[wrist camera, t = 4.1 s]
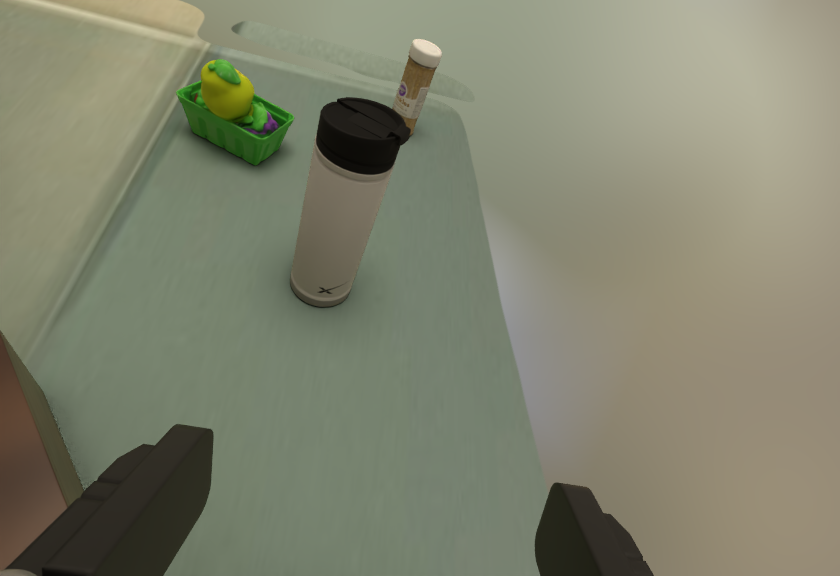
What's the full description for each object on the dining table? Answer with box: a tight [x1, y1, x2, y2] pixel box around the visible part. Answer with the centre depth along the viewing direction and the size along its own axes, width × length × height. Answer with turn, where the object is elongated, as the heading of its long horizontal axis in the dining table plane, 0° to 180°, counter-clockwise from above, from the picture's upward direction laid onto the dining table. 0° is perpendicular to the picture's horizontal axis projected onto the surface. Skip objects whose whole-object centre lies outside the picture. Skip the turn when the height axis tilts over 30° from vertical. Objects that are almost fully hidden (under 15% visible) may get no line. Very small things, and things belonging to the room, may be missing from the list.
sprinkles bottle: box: [392, 39, 442, 135], centre depth 65 cm, size 5×5×14 cm
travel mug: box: [290, 97, 411, 307], centre depth 37 cm, size 6×7×20 cm
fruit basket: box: [176, 59, 294, 165], centre depth 50 cm, size 11×9×11 cm
